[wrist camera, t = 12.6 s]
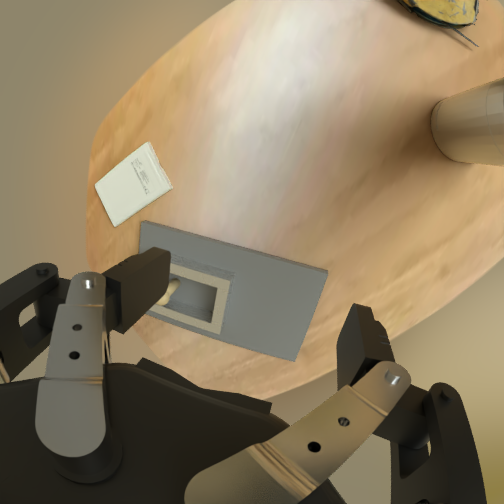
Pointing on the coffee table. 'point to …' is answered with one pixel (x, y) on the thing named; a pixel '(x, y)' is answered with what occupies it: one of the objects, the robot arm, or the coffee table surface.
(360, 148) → the coffee table surface
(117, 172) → the external hard drive
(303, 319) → the board
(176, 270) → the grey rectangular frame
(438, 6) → the pulley block
